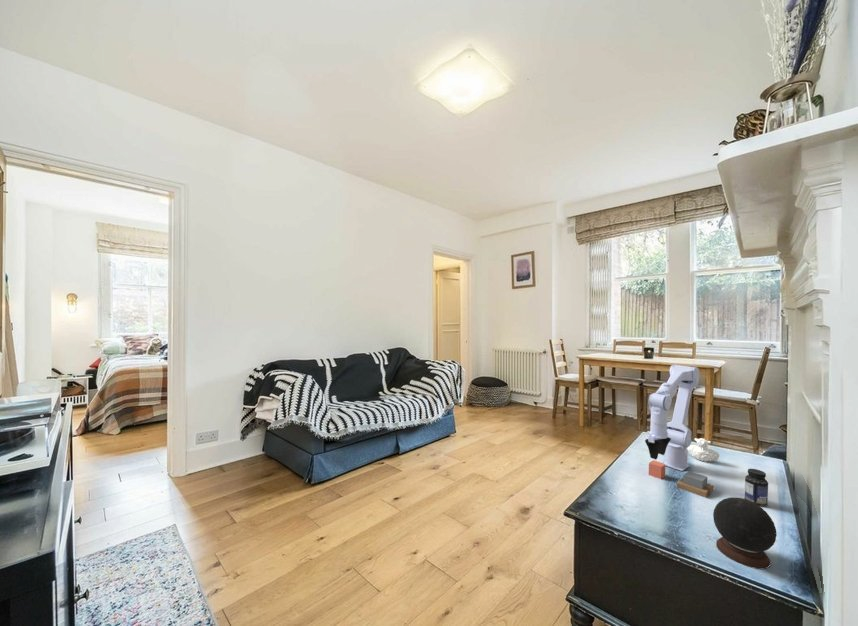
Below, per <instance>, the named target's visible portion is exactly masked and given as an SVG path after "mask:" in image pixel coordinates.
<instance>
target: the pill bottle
mask: <svg viewBox="0 0 858 626" xmlns="http://www.w3.org/2000/svg"><path fill="white" fill-rule="evenodd" d="M747 473H748V474H747V475H745V477H744V499H746V500H749V501H751V502H753V503H755V504H757V505H758V506H760V507H766V506H768V504H769V500H768V499H769V482H768V481H767V479H766V478H767V474H766V472H765V471H763V470H759V469H756V468H748V469H747Z"/></svg>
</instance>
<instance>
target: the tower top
mask: <svg viewBox="0 0 858 626" xmlns="http://www.w3.org/2000/svg"><path fill="white" fill-rule="evenodd" d="M708 477H709V476H707V475H704V474H703V475H702V474H700V473H697V472H694V471H691V470H688V471H687V472H685V473H684V474H683V475H682V478H683V483H685V484H688V485H691V486H694V487H697V488H700V489H703V488H704V487H705V486H706V485H707V483H708Z"/></svg>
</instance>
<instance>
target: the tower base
mask: <svg viewBox="0 0 858 626" xmlns="http://www.w3.org/2000/svg"><path fill="white" fill-rule="evenodd" d="M676 488H678V489H680V490H684V491H686V492H689V493H692V494H693V495H697V496H700V497H703V498H704V499H705V498H707V497H708V496H709V495H710V494H711V493H713V492H714V485H713V484H710V483H708V482H707V485H706V486H705V487H704V488H703V489H700V488H697V487H694V486H691V485H688V484H685V483H683V477H682V478H681V479H680V480H679V481H677V483H676Z"/></svg>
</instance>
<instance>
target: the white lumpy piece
mask: <svg viewBox="0 0 858 626" xmlns="http://www.w3.org/2000/svg"><path fill="white" fill-rule="evenodd" d="M694 441H696V444H691V445H690V446H689V447H688V448H687V450H688V455H690V456H691V457H693V458H695V459H696V460H698V461H700V460H701V461H700V462H705V463H706V462H717V461H718V460H719V458H720V453H719V452H718V451H716V450H715V449H711V448H708V447H709V445H710V444H711V441H710V440H706V438H702V437H700V438H697V437H695V438H694Z"/></svg>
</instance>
